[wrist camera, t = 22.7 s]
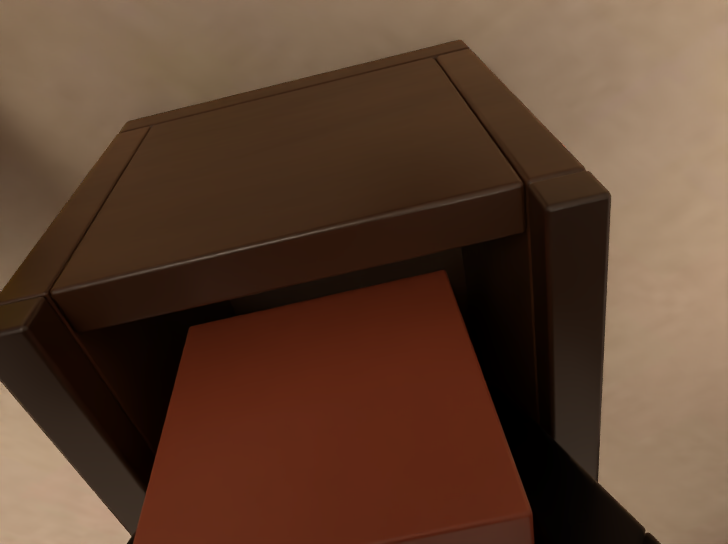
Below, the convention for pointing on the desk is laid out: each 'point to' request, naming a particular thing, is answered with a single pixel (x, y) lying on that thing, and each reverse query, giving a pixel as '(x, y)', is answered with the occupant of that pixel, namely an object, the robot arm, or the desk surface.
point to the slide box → (311, 249)
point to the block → (336, 429)
